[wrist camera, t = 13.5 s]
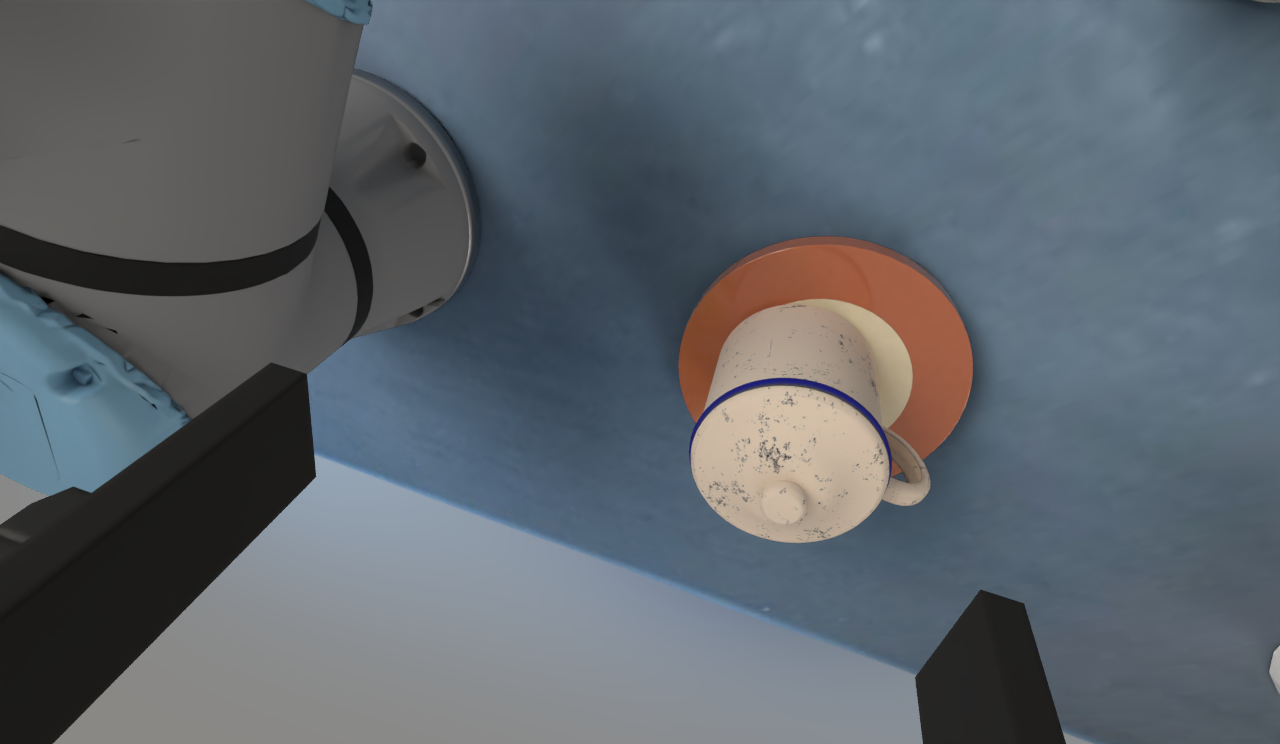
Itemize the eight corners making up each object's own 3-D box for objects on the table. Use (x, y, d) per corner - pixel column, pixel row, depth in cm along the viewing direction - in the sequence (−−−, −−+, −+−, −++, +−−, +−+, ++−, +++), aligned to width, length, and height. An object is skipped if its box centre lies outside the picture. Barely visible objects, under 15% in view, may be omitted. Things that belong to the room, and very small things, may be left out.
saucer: (660, 426, 45) (653, 445, 43) (721, 196, 36) (716, 208, 35) (898, 499, 44) (901, 522, 42) (1022, 278, 35) (1032, 295, 33)
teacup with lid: (690, 396, 41) (646, 533, 31) (756, 269, 36) (729, 385, 26) (872, 479, 41) (885, 641, 31) (964, 363, 36) (1014, 514, 26)
